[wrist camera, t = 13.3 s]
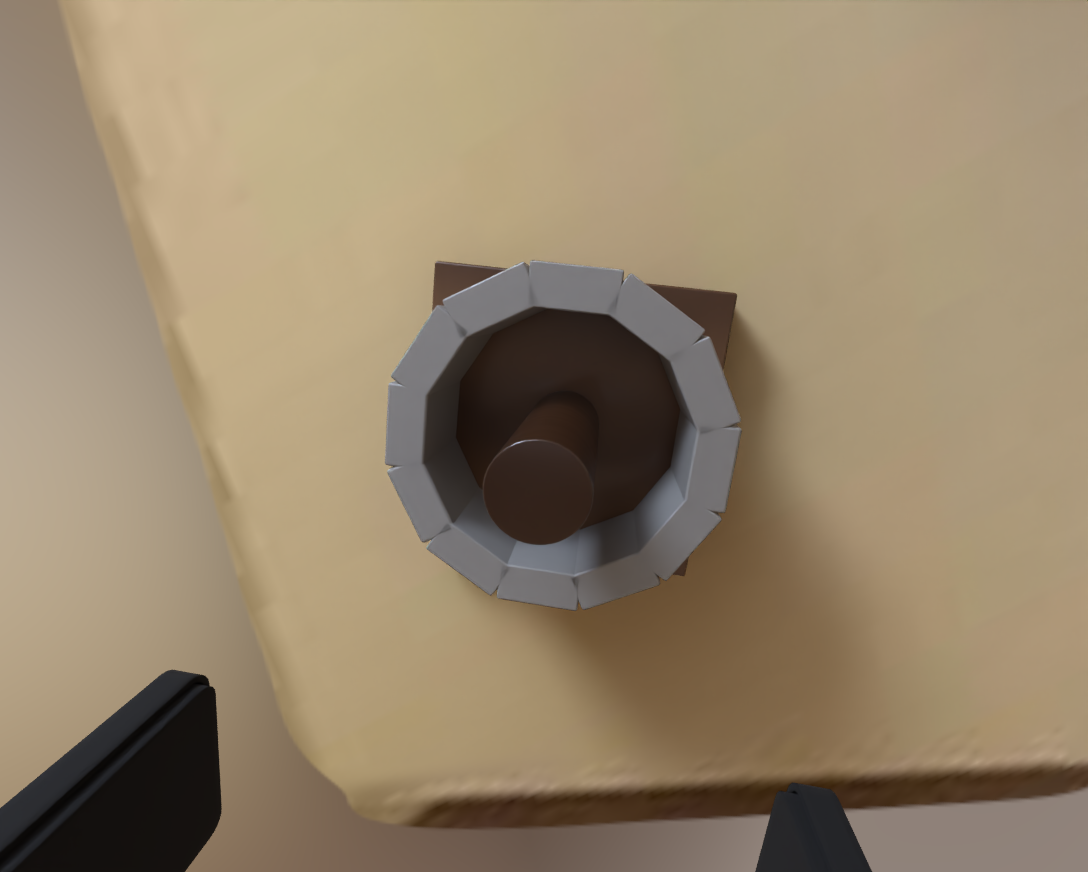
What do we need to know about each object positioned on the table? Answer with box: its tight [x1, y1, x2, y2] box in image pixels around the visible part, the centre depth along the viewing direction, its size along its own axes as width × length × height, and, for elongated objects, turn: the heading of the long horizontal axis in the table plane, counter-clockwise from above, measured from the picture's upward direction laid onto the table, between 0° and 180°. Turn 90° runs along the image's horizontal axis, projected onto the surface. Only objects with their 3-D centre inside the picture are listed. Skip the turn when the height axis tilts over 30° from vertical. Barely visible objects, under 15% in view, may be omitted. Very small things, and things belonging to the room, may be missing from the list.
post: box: [432, 261, 737, 576], centre depth 16 cm, size 10×10×9 cm
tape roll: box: [385, 260, 742, 611], centre depth 17 cm, size 10×10×4 cm
